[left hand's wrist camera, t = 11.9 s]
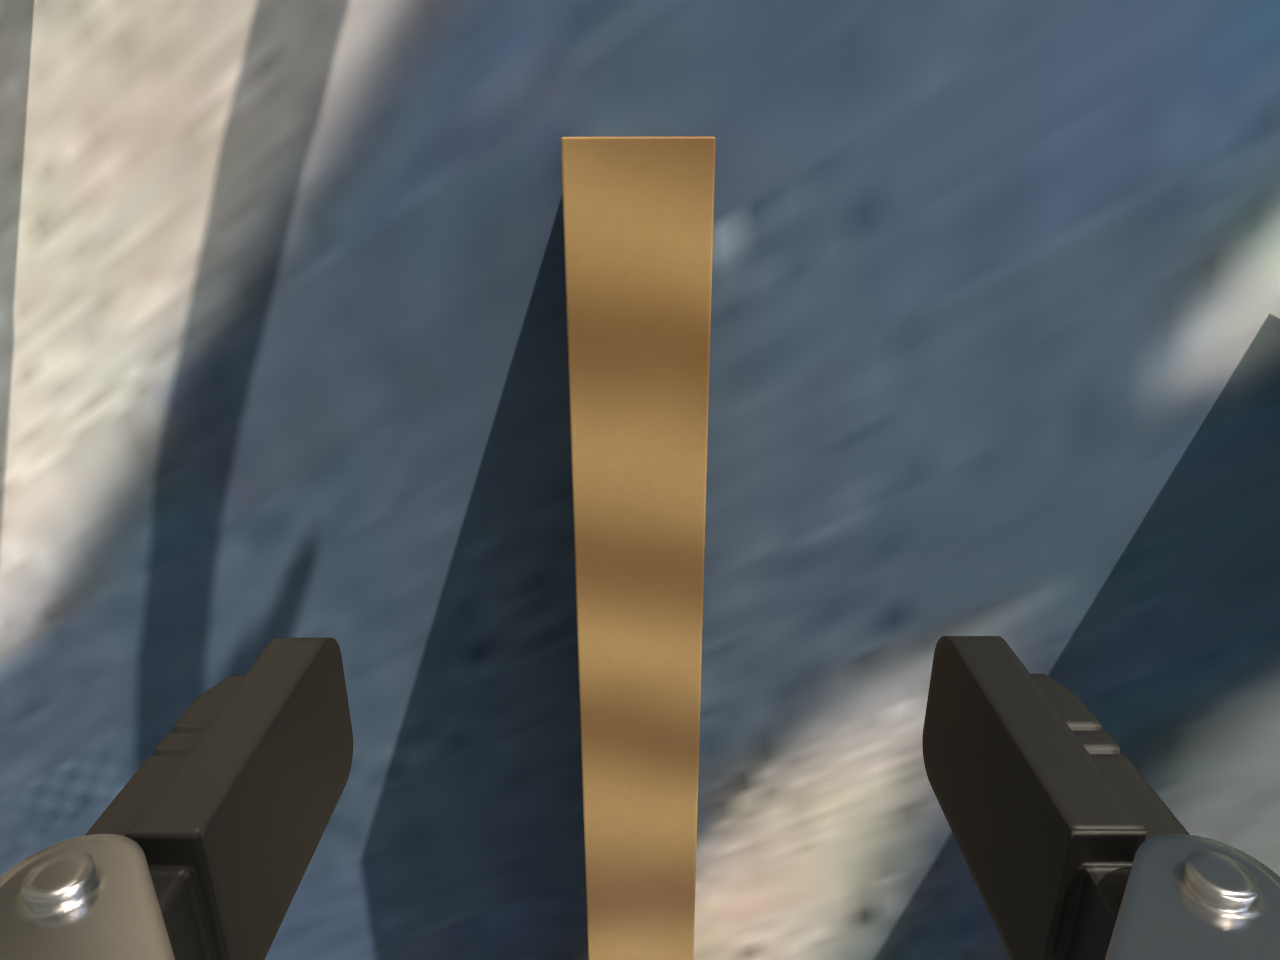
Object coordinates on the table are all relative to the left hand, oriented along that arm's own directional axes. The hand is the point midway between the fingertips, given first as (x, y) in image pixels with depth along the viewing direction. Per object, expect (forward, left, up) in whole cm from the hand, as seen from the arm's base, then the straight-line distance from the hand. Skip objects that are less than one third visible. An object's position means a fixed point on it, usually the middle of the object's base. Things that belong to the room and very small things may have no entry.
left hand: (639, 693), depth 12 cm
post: (-23, +26, -24) cm, 42 cm away
